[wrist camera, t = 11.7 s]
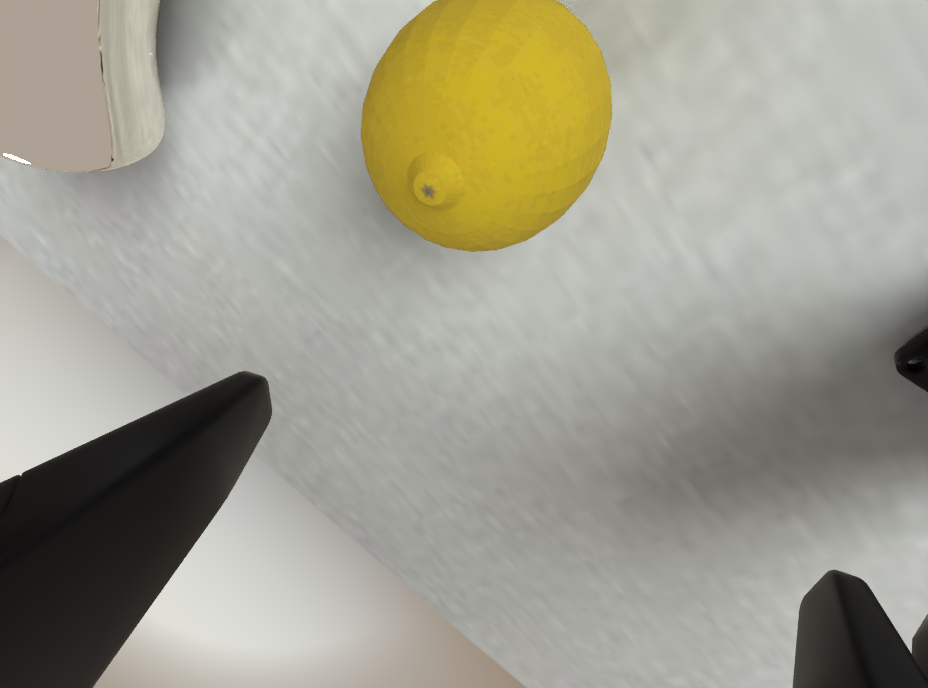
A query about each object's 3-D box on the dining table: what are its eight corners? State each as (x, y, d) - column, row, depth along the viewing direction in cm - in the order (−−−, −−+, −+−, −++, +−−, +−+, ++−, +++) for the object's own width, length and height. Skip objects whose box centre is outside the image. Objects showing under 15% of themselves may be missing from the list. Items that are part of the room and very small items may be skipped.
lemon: (405, 41, 18) (247, 137, 12) (566, -92, 15) (455, -48, 9) (506, 197, 20) (411, 343, 14) (668, 109, 17) (630, 252, 11)
